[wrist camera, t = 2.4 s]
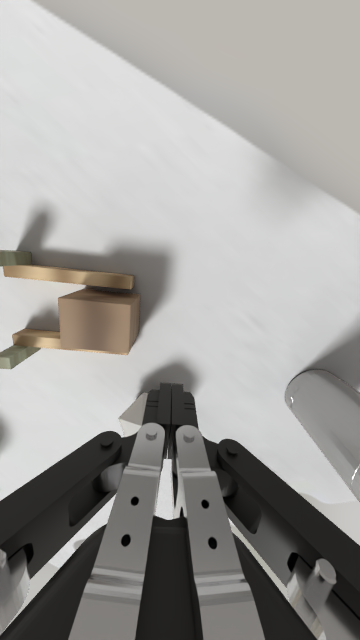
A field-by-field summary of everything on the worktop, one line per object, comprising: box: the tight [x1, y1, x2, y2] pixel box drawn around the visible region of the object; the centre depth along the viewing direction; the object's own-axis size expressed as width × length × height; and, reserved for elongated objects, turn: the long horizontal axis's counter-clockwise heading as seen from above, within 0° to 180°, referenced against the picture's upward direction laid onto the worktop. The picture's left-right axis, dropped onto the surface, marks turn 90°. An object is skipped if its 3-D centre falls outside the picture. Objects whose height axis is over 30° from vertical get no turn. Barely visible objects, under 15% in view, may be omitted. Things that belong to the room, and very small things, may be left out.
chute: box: [0, 250, 134, 369], centre depth 28 cm, size 16×14×6 cm
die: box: [118, 393, 148, 437], centre depth 32 cm, size 8×9×10 cm
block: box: [58, 289, 140, 353], centre depth 27 cm, size 8×6×7 cm
